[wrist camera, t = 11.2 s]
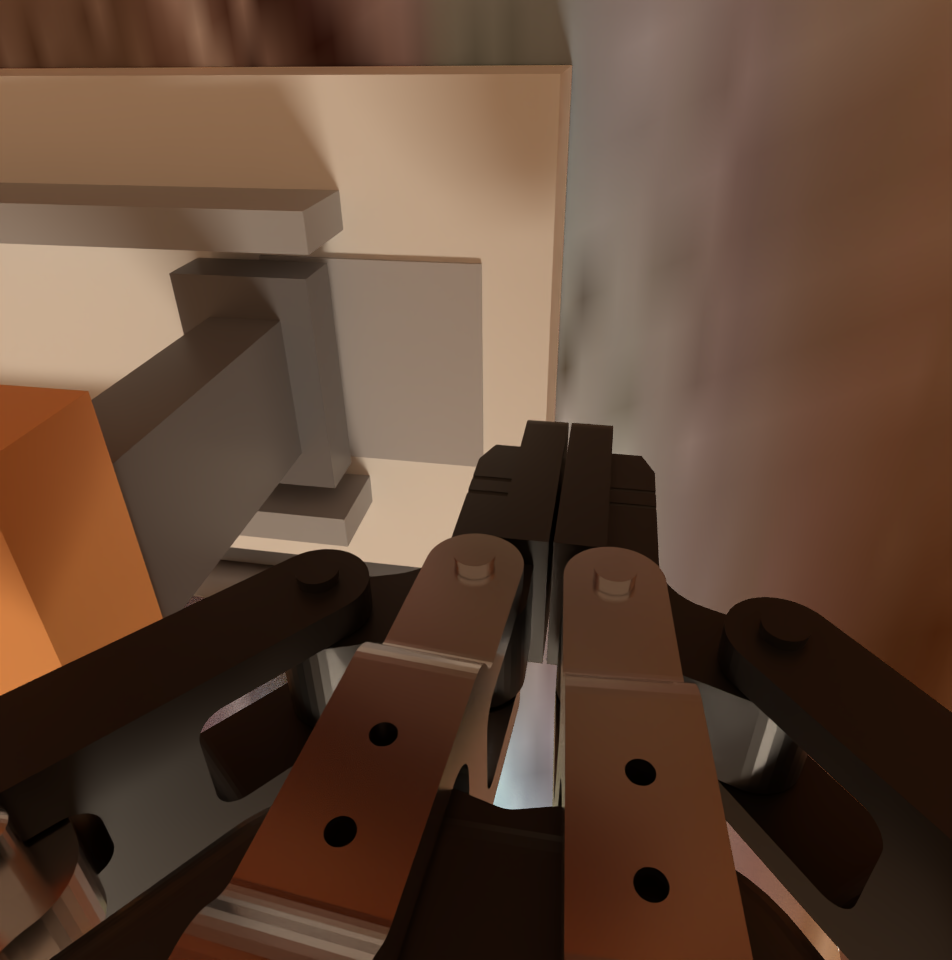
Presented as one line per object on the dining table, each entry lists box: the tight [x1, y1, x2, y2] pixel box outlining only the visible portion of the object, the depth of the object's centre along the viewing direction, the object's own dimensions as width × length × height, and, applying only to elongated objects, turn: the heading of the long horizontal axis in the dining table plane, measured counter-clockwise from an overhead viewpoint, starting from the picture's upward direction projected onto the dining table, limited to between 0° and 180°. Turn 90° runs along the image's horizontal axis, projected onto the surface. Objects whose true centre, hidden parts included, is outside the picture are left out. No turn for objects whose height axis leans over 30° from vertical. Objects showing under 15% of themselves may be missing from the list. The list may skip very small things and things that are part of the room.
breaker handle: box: [0, 258, 351, 695], centre depth 13 cm, size 3×6×9 cm, turn 1°
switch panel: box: [0, 65, 572, 568], centre depth 19 cm, size 24×12×5 cm, turn 91°
